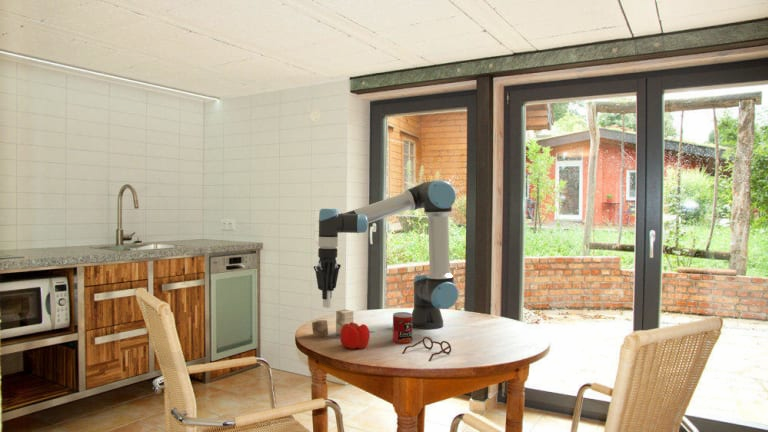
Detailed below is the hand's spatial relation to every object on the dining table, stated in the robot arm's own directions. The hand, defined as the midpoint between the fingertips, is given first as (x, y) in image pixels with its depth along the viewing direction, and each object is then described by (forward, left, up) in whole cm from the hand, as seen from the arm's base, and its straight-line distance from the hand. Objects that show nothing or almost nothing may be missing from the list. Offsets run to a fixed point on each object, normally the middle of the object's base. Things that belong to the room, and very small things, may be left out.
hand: (326, 307), depth 204 cm
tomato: (-15, 0, -14) cm, 20 cm away
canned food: (-23, -19, -14) cm, 33 cm away
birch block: (0, -10, -13) cm, 17 cm away
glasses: (-40, -11, -14) cm, 44 cm away
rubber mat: (0, -14, -13) cm, 19 cm away
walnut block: (+7, -3, -13) cm, 15 cm away
